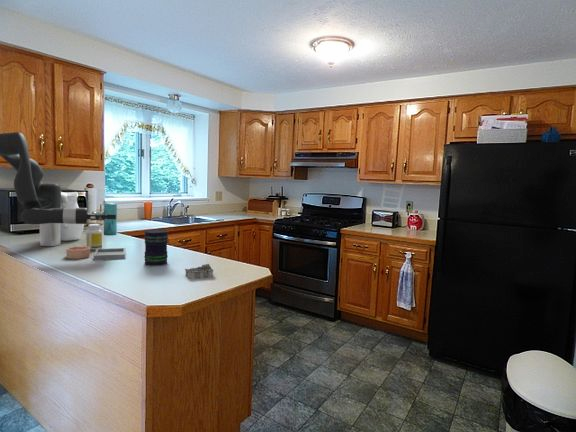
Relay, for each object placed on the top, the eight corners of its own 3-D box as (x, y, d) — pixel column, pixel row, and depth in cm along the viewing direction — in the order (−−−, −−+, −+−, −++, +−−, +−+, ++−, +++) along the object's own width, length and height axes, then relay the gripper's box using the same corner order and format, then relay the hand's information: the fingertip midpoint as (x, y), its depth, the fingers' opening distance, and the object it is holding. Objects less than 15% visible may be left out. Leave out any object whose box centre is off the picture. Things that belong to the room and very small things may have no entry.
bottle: (104, 233, 168) (104, 203, 167) (116, 233, 170) (117, 203, 169) (103, 235, 163) (103, 204, 162) (116, 235, 165) (116, 204, 164)
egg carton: (210, 272, 146) (210, 263, 146) (214, 277, 139) (214, 267, 139) (184, 274, 141) (184, 265, 141) (187, 279, 135) (187, 269, 134)
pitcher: (53, 237, 208) (52, 191, 206) (85, 236, 215) (85, 192, 213) (44, 244, 187) (43, 193, 184) (80, 243, 194) (80, 194, 191)
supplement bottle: (104, 248, 185) (104, 224, 183) (96, 250, 178) (96, 225, 176) (92, 247, 185) (92, 223, 184) (83, 249, 178) (83, 225, 177)
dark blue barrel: (159, 266, 151) (160, 233, 150) (139, 264, 153) (139, 231, 152) (171, 262, 161) (172, 230, 159) (152, 260, 163) (153, 228, 161)
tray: (96, 252, 172) (96, 248, 172) (125, 251, 178) (125, 248, 178) (93, 259, 158) (93, 255, 158) (124, 258, 163) (124, 254, 163)
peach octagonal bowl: (68, 254, 165) (68, 246, 165) (91, 253, 169) (90, 245, 169) (65, 259, 157) (65, 250, 156) (88, 258, 161) (88, 249, 160)
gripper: (73, 209, 153) (115, 209, 160) (77, 206, 166) (116, 207, 173) (73, 225, 154) (115, 225, 161) (77, 222, 167) (116, 222, 174)
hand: (116, 216), depth 167 cm, fingers closed on bottle, 5 cm apart
